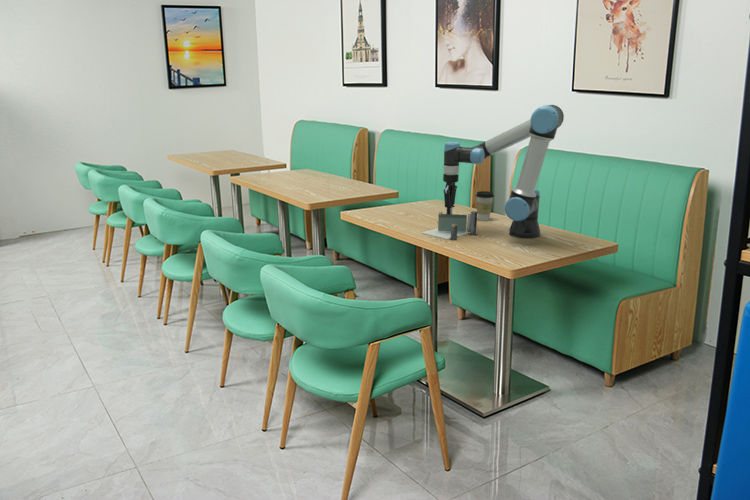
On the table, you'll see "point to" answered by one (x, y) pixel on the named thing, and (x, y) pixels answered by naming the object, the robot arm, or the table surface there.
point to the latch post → (454, 232)
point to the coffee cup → (484, 205)
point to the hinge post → (473, 222)
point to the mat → (442, 233)
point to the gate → (454, 222)
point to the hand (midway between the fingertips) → (449, 219)
